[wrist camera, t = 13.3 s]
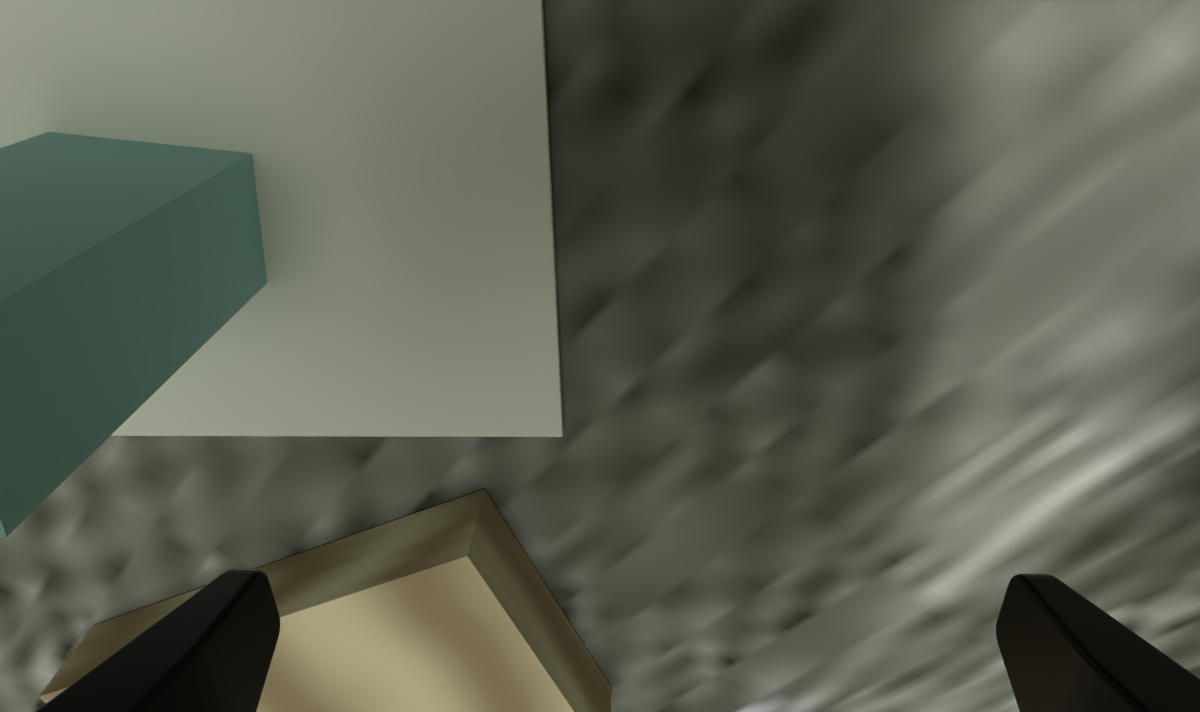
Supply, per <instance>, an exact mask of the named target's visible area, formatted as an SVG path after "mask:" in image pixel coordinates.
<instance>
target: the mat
mask: <svg viewBox="0 0 1200 712" xmlns="http://www.w3.org/2000/svg"><path fill="white" fill-rule="evenodd" d="M46 132H55V133H64V134H74V135H83V136H93V137H102V138H112V139H121V140H131V141H140V142H150V143H159V144H169V145H178V146H188V147H197V148H207V149H216V150H226V151H235V152H245V153H252V157H253V165H254V174H255V182H256V191H257V200H258V208H259V217H260V225H261V234H262V242H263V251H264V259H265V268H266V277H267V284H266V285H265V286H264V287H263V288H262V289H261V290H260V291H259V292H258V293H257V294H256V295H254V296H253V297H252V298H251V299H250V300H249V301H248V302H247V303H246V304H245V305H244V306H243V307H242V308H241V309H240V310H239V311H238V312H237V313H236V314H235V315H234V316H233V317H232V318H231V319H230V320H229V321H228V322H227V323H226V324H225V325H224V326H223V327H222V328H221V329H220V330H219V331H217V332H216V333H215V334H214V335H213V336H212V337H211V338H210V339H209V340H208V341H207V342H206V343H205V344H204V345H203V346H202V347H201V348H200V349H199V350H198V351H197V352H196V353H195V354H194V355H193V356H192V357H191V358H190V359H189V360H188V361H187V362H186V363H185V364H184V365H183V366H182V367H180V368H179V369H178V370H177V371H176V372H175V373H174V374H173V375H172V376H171V377H170V378H169V379H168V380H167V381H166V382H165V383H164V384H163V385H162V386H161V387H160V388H159V389H158V390H157V391H156V392H155V393H154V394H153V395H152V396H151V397H150V398H149V399H148V400H147V401H146V402H145V403H143V404H142V405H141V406H140V407H139V408H138V409H137V410H136V411H135V412H134V413H133V414H132V415H131V416H130V417H129V418H128V419H127V420H126V421H125V422H124V423H123V424H122V425H121V426H120V427H119V428H118V429H117V430H116V431H115V432H114V433H113V434H112V435H111V436H407V437H562V435H563V413H562V392H561V372H560V351H559V330H558V309H557V288H556V268H555V247H554V226H553V205H552V184H551V164H550V143H549V122H548V101H547V80H546V60H545V39H544V18H543V0H0V148H2V147H5V146H8V145H11V144H14V143H17V142H20V141H23V140H26V139H29V138H32V137H34V136H37V135H40V134H43V133H46Z"/></svg>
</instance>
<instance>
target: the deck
mask: <svg viewBox="0 0 1200 712" xmlns="http://www.w3.org/2000/svg"><path fill="white" fill-rule="evenodd" d="M256 569H259V570H263V571H264V572H265V573H266V574H267V576H268V579H269V582H270V585H271V589H272V592H273V595H274V599H275V602H276V605H277V609H278V612H279V616H280V633H279V637H278V641H277V644H276V648H275V651H274V654H273V658H272V661H271V664H270V668H269V671H268V674H267V678H266V681H265V684H264V688H263V691H262V695H261V698H260V701H259V705H258V708H257V711H256V712H611V686H610V685H609V683H608V682H607V680H606V678H605V677H604V675H603V674H602V672H601V671H600V669H599V668H598V666H597V664H596V663H595V661H594V660H593V658H592V657H591V655H590V653H589V652H588V650H587V649H586V647H585V646H584V644H583V643H582V641H581V639H580V638H579V636H578V635H577V633H576V632H575V630H574V628H573V627H572V625H571V624H570V622H569V621H568V619H567V618H566V616H565V614H564V613H563V611H562V610H561V608H560V607H559V605H558V603H557V602H556V600H555V599H554V597H553V596H552V594H551V592H550V591H549V589H548V588H547V586H546V585H545V583H544V582H543V580H542V578H541V577H540V575H539V574H538V572H537V571H536V569H535V567H534V566H533V564H532V563H531V561H530V560H529V558H528V557H527V555H526V553H525V552H524V550H523V549H522V547H521V546H520V544H519V542H518V541H517V539H516V538H515V536H514V535H513V533H512V532H511V530H510V528H509V527H508V525H507V524H506V522H505V521H504V519H503V517H502V516H501V514H500V513H499V511H498V510H497V508H496V506H495V505H494V503H493V502H492V500H491V499H490V497H489V496H488V494H487V492H486V491H485V489H483V490H480V491H477V492H474V493H472V494H469V495H466V496H463V497H460V498H457V499H454V500H452V501H449V502H446V503H443V504H440V505H437V506H434V507H431V508H429V509H426V510H423V511H420V512H417V513H414V514H411V515H408V516H406V517H403V518H400V519H397V520H394V521H391V522H388V523H386V524H383V525H380V526H377V527H374V528H371V529H368V530H365V531H363V532H360V533H357V534H354V535H351V536H348V537H345V538H342V539H340V540H337V541H334V542H331V543H328V544H325V545H322V546H319V547H317V548H314V549H311V550H308V551H305V552H302V553H299V554H297V555H294V556H291V557H288V558H285V559H282V560H279V561H276V562H274V563H271V564H268V565H265V566H262V567H259V568H256ZM202 588H204V587H202ZM202 588H199V589H196V590H193V591H190V592H187V593H185V594H182V595H179V596H176V597H173V598H170V599H167V600H164V601H162V602H159V603H156V604H153V605H150V606H147V607H144V608H142V609H139V610H136V611H133V612H130V613H127V614H124V615H121V616H119V617H116V618H113V619H110V620H107V621H104V622H101V623H98V624H96V625H94V626H93V627H92V628H91V630H90V631H89V632H88V633H87V635H86V636H85V637H84V639H83V640H82V641H81V643H80V644H79V645H78V646H77V648H76V649H75V650H74V652H73V653H72V654H71V656H70V657H69V658H68V659H67V661H66V662H65V663H64V665H63V666H62V667H61V669H60V670H59V671H58V672H57V674H56V675H55V676H54V678H53V679H52V680H51V682H50V683H49V684H48V685H47V687H46V688H45V689H44V691H43V692H42V693H41V695H40V696H39V698H41V699H42V700H43V701H44V702H45V703H48V702H49V701H50V700H52V699H53V698H54V697H56V696H57V695H58V694H60V693H61V692H62V691H64V690H65V689H67V688H68V687H69V686H71V685H72V684H73V683H75V682H76V681H77V680H79V679H80V678H82V677H83V676H84V675H86V674H87V673H88V672H90V671H91V670H92V669H94V668H95V667H96V666H98V665H99V664H101V663H102V662H103V661H105V660H106V659H107V658H109V657H110V656H111V655H113V654H114V653H115V652H117V651H118V650H120V649H121V648H122V647H124V646H125V645H126V644H128V643H129V642H130V641H132V640H133V639H135V638H136V637H137V636H139V635H140V634H141V633H143V632H144V631H145V630H147V629H148V628H149V627H151V626H152V625H154V624H155V623H156V622H158V621H159V620H160V619H162V618H163V617H164V616H166V615H167V614H168V613H170V612H171V611H173V610H174V609H175V608H177V607H178V606H179V605H181V604H182V603H183V602H185V601H186V600H187V599H189V598H190V597H192V596H193V595H194V594H196V593H197V592H198V591H200V590H201V589H202Z"/></svg>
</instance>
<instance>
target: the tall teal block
mask: <svg viewBox="0 0 1200 712" xmlns="http://www.w3.org/2000/svg"><path fill="white" fill-rule="evenodd" d="M266 284H267V277H266V268H265V259H264V251H263V242H262V234H261V225H260V217H259V208H258V200H257V191H256V182H255V174H254V165H253V157H252V153H245V152H235V151H226V150H216V149H207V148H197V147H188V146H178V145H169V144H159V143H150V142H140V141H131V140H121V139H112V138H102V137H93V136H83V135H74V134H64V133H55V132H46V133H43V134H40V135H37V136H34V137H32V138H29V139H26V140H23V141H20V142H17V143H14V144H11V145H8V146H5V147H2V148H0V536H4V537H7V536H8V535H9V534H10V533H11V532H12V531H13V530H14V529H15V528H16V527H17V526H18V525H19V524H20V523H21V522H22V521H23V520H24V519H25V518H26V517H27V516H28V515H29V514H30V513H31V512H32V511H34V510H35V509H36V508H37V507H38V506H39V505H40V504H41V503H42V502H43V501H44V500H45V499H46V498H47V497H48V496H49V495H50V494H51V493H52V492H53V491H54V490H55V489H56V488H57V487H58V486H59V485H60V484H61V483H62V482H63V481H64V480H65V479H66V478H67V477H68V476H69V475H71V474H72V473H73V472H74V471H75V470H76V469H77V468H78V467H79V466H80V465H81V464H82V463H83V462H84V461H85V460H86V459H87V458H88V457H89V456H90V455H91V454H92V453H93V452H94V451H95V450H96V449H97V448H98V447H99V446H100V445H101V444H102V443H103V442H104V441H105V440H106V439H108V438H109V437H110V436H111V435H112V434H113V433H114V432H115V431H116V430H117V429H118V428H119V427H120V426H121V425H122V424H123V423H124V422H125V421H126V420H127V419H128V418H129V417H130V416H131V415H132V414H133V413H134V412H135V411H136V410H137V409H138V408H139V407H140V406H141V405H142V404H143V403H145V402H146V401H147V400H148V399H149V398H150V397H151V396H152V395H153V394H154V393H155V392H156V391H157V390H158V389H159V388H160V387H161V386H162V385H163V384H164V383H165V382H166V381H167V380H168V379H169V378H170V377H171V376H172V375H173V374H174V373H175V372H176V371H177V370H178V369H179V368H180V367H182V366H183V365H184V364H185V363H186V362H187V361H188V360H189V359H190V358H191V357H192V356H193V355H194V354H195V353H196V352H197V351H198V350H199V349H200V348H201V347H202V346H203V345H204V344H205V343H206V342H207V341H208V340H209V339H210V338H211V337H212V336H213V335H214V334H215V333H216V332H217V331H219V330H220V329H221V328H222V327H223V326H224V325H225V324H226V323H227V322H228V321H229V320H230V319H231V318H232V317H233V316H234V315H235V314H236V313H237V312H238V311H239V310H240V309H241V308H242V307H243V306H244V305H245V304H246V303H247V302H248V301H249V300H250V299H251V298H252V297H253V296H254V295H256V294H257V293H258V292H259V291H260V290H261V289H262V288H263V287H264V286H265V285H266Z"/></svg>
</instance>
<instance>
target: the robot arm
mask: <svg viewBox="0 0 1200 712" xmlns="http://www.w3.org/2000/svg"><path fill="white" fill-rule="evenodd" d="M279 633H280V616H279V612H278V609H277V605H276V602H275V599H274V595H273V592H272V589H271V585H270V582H269V579H268V576H267V574H266V573H265V572H264V571H263V570H259V569H232V570H228V571H226V572H225V573H223V574H221V575H220V576H219V577H217V578H216V579H215V580H213V581H212V582H211V583H209V584H208V585H207V586H205V587H204V588H202V589H201V590H200V591H198V592H197V593H196V594H194V595H193V596H192V597H190V598H189V599H187V600H186V601H185V602H183V603H182V604H181V605H179V606H178V607H177V608H175V609H174V610H173V611H171V612H170V613H168V614H167V615H166V616H164V617H163V618H162V619H160V620H159V621H158V622H156V623H155V624H154V625H152V626H151V627H149V628H148V629H147V630H145V631H144V632H143V633H141V634H140V635H139V636H137V637H136V638H135V639H133V640H132V641H130V642H129V643H128V644H126V645H125V646H124V647H122V648H121V649H120V650H118V651H117V652H115V653H114V654H113V655H111V656H110V657H109V658H107V659H106V660H105V661H103V662H102V663H101V664H99V665H98V666H96V667H95V668H94V669H92V670H91V671H90V672H88V673H87V674H86V675H84V676H83V677H82V678H80V679H79V680H77V681H76V682H75V683H73V684H72V685H71V686H69V687H68V688H67V689H65V690H64V691H62V692H61V693H60V694H58V695H57V696H56V697H54V698H53V699H52V700H50V701H49V702H48V703H46V704H45V705H43V706H42V707H41V708H39V709H38V710H37V711H35V712H256V711H257V708H258V705H259V701H260V698H261V695H262V691H263V688H264V684H265V681H266V678H267V674H268V671H269V668H270V664H271V661H272V658H273V654H274V651H275V648H276V644H277V641H278V637H279ZM996 636H997V641H998V645H999V648H1000V651H1001V654H1002V658H1003V661H1004V664H1005V667H1006V670H1007V673H1008V676H1009V679H1010V682H1011V686H1012V689H1013V692H1014V695H1015V698H1016V701H1017V704H1018V707H1019V710H1020V712H1200V679H1199V678H1198V677H1196V676H1195V675H1193V674H1192V673H1190V672H1189V671H1188V670H1186V669H1185V668H1183V667H1182V666H1181V665H1179V664H1178V663H1176V662H1175V661H1173V660H1172V659H1171V658H1169V657H1168V656H1166V655H1165V654H1164V653H1162V652H1161V651H1159V650H1158V649H1156V648H1155V647H1154V646H1152V645H1151V644H1149V643H1148V642H1147V641H1145V640H1144V639H1142V638H1141V637H1139V636H1138V635H1137V634H1135V633H1134V632H1132V631H1131V630H1130V629H1128V628H1127V627H1125V626H1124V625H1122V624H1121V623H1120V622H1118V621H1117V620H1115V619H1114V618H1113V617H1111V616H1110V615H1108V614H1107V613H1106V612H1104V611H1103V610H1101V609H1100V608H1098V607H1097V606H1096V605H1094V604H1093V603H1091V602H1090V601H1089V600H1087V599H1086V598H1084V597H1083V596H1081V595H1080V594H1079V593H1077V592H1076V591H1074V590H1073V589H1072V588H1070V587H1069V586H1067V585H1066V584H1064V583H1063V582H1062V581H1060V580H1059V579H1057V578H1055V577H1054V576H1051V575H1047V574H1018V575H1015V576H1014V577H1013V578H1012V579H1011V580H1010V582H1009V585H1008V588H1007V591H1006V594H1005V597H1004V601H1003V604H1002V607H1001V610H1000V613H999V616H998V620H997V624H996Z"/></svg>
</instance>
